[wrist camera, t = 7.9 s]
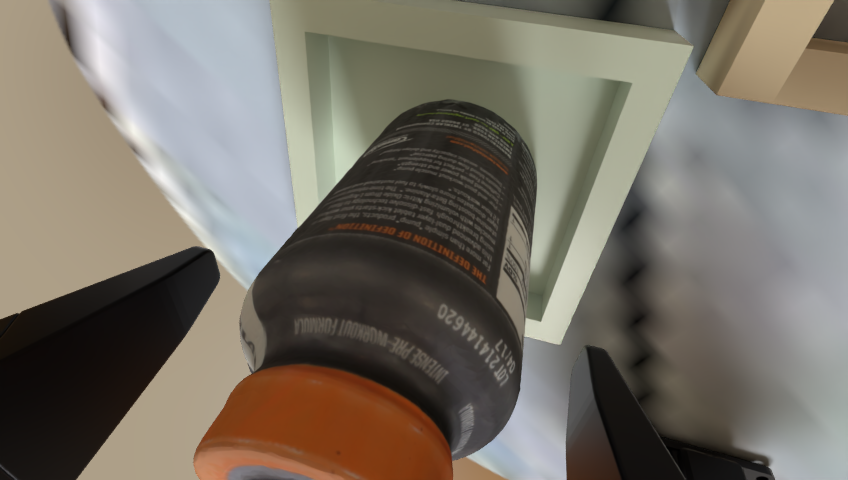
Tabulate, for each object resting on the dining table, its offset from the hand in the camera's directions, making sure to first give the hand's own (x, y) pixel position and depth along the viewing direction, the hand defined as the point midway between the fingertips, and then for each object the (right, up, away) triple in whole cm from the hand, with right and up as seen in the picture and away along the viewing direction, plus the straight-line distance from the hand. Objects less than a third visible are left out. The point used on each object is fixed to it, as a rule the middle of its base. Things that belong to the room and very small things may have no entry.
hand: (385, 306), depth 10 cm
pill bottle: (+2, +4, +6) cm, 7 cm away
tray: (+2, +4, +6) cm, 7 cm away
